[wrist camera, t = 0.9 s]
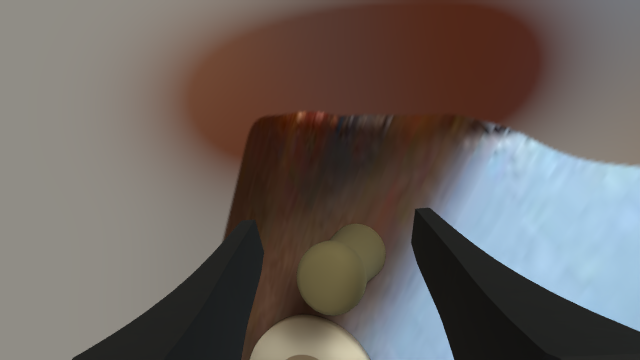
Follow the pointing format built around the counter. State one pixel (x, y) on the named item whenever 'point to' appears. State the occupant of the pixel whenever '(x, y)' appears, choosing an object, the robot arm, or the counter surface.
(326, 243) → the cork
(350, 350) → the birch stand
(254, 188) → the counter surface
